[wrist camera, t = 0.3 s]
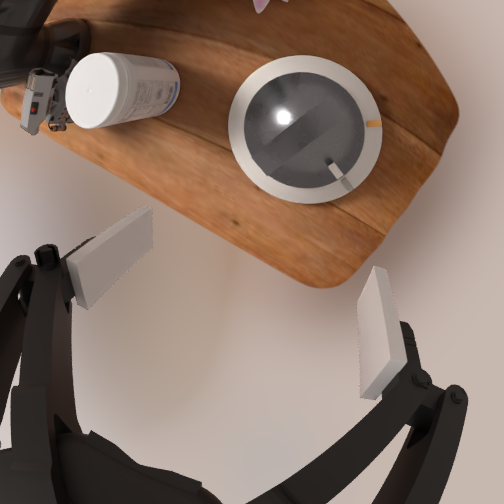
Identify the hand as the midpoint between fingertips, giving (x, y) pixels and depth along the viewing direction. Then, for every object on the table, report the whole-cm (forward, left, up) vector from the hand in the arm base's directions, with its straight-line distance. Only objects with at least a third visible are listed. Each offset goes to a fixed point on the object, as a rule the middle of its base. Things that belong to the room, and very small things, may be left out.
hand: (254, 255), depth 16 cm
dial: (-3, +4, -23) cm, 24 cm away
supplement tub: (-23, -8, -26) cm, 36 cm away
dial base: (-3, +4, -25) cm, 26 cm away
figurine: (-34, -17, -26) cm, 46 cm away
